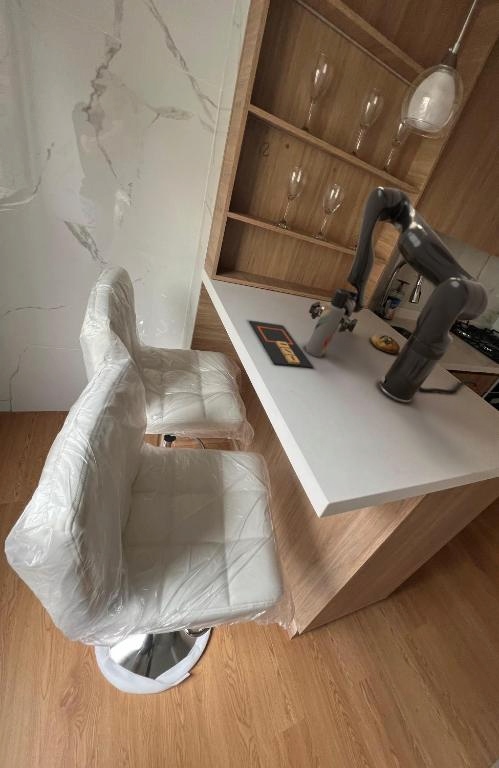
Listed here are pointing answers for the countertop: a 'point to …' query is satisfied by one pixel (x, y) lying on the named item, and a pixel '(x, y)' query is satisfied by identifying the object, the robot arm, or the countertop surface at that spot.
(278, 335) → the mat
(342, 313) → the lotion bottle
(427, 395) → the countertop surface
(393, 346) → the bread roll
